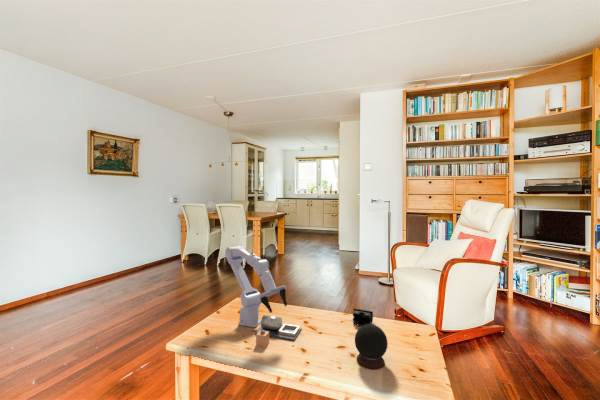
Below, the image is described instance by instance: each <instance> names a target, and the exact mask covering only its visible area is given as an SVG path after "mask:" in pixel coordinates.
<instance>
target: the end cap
mask: <svg viewBox="0 0 600 400" xmlns="http://www.w3.org/2000/svg"><path fill="white" fill-rule="evenodd" d="M352 317H353V318H352V321H353V322H352V324H353V323H354V324H353V325H356V324H358V325H357V326H361V325H366V324H372V323H373V320H374V312H373V311H372V310H367V309H362V308H361V309H360V308H356V307H355V308H353V312H352Z"/></svg>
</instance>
